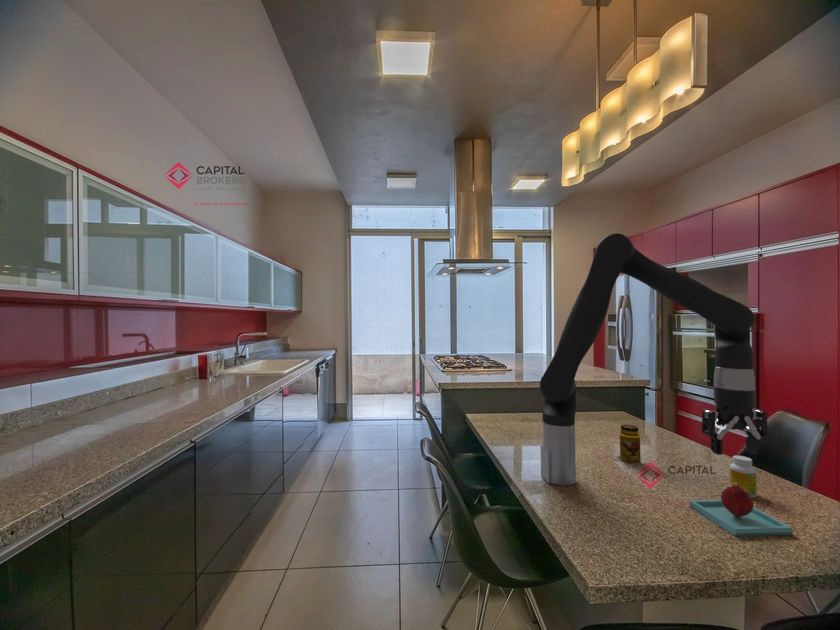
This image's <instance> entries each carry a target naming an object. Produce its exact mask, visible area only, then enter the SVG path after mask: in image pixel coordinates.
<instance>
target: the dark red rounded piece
mask: <svg viewBox="0 0 840 630" xmlns="http://www.w3.org/2000/svg"><path fill="white" fill-rule="evenodd" d="M720 500H722V504H723V505H724V507H725V508H726V509H727V510H728V511H729V512H730V513H731V514H733V515H734V516H735V517H741V516H745V515H748V514H749V513H750V512H751V511H752V509H753V507H754V502H753V499H752V497H750V496H749V495H748V493H747V492H746V491H744V490H743V489H742V488H740V487H739V484H738V483H736V482H735V483H734V484H733V486H731V485H730V486H729V487H726V488H724V490H722V491H721V494H720Z"/></svg>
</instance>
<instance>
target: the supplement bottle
mask: <svg viewBox="0 0 840 630" xmlns="http://www.w3.org/2000/svg"><path fill="white" fill-rule="evenodd" d="M732 462H733V463H731V464H730V465H729V476H730V477H729V479H730V481H729V482H730V485H729V486H730V487H731V486H733V484H734V483H735V482H736V483H738V484H739V487H740V488H742V489H743V490H744V491H746V492H747V493H748V495H749V496H750V497H751V498H756V497H757V494H758V493H757V492H758V491H757V470H756V468H755V467H753V459H752V458H750V457H747V456H744V455H733V456H732Z"/></svg>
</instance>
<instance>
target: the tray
mask: <svg viewBox="0 0 840 630" xmlns="http://www.w3.org/2000/svg"><path fill="white" fill-rule="evenodd" d="M688 501H689V504H688V505H689V507H690V508H691V509H692V508H693V509H692V510H694V511H695V512H697V513H699V514H700V515H701V516H703V517H705V518H706V519H708V520H709V521H711V522H712V523H714V524H715V525H717V526H719V527H720V528H721V529H723V530H725V531H726V532H728V533H729V534H731V535H732V536H734V537H760V536H761V537H765V536H771V537H772V536H793V527H792V526H790V525H788V524H786V523H784V522H783V521H780V520H778V519H777V518H775V517H772V516H770V515H769V514H768V513H766V512H763V511H762V510H760V509H757V508H756V507H754V506H753V509H752V511H751V512H750V513H749V514H748V515H745V516H741V517H735V516H734V515H733V514H731V513H730V512H729V511H728V510H727V509H726V508H725V507H724V505H723V504H722V500H721V499H696V500H695V499H692V500H688Z"/></svg>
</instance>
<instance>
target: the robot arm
mask: <svg viewBox="0 0 840 630" xmlns="http://www.w3.org/2000/svg"><path fill="white" fill-rule="evenodd" d="M620 274H624V275H626V276H629V277H630V278H633V279H635V280H637V281H639V282H641V283H643V284H645V285H646V286H648V287H650V288H651V289H653V290H654V291H655V292H657V293H659V294H661V295H662V296H663V297H665V298H667V299H668V300H669V301H672V302H674V303H675V304H677V305H678V306H680V307H682V308H684V309H685V310H688V312H692V313H695V314H697V315H699V316H701V318H703V319H705V320H707V321H708V322H710V323H712V324H713V329H714V340H715V350H714V352H715V353H714V371H713V372H714V373H713V402H714V404H715V405H716V409H715V410H710V409H705V408H704V409H703V410H702V415H701V416H702V417H701V433H702V434H703V435H706V436H709V438H710V439H709V440H710V450H711V451H712V453H714V454H715V455H717V456H722V455H723V454H724V453H723V452H724V451H723V448H724V447H723V445H724V444H723V437H724V436H725V435H726V434H727V433H729V432H730V431H731V430H733V431H734V430H741V431H743V432H744V433H745V435H746V437H745V451H746V453H747V454H749V455H752V456H757V455H758V454H759V453H758V452H759V450H760V448H759V446H760V445H759V443H760V441H759V440H761V438H762V437H764V438H767V437H768V436H769V429H768V416H767V412H766V411H763V410H760V409H756V377H755V372H754V351H753V347H752V346H751V327H753V326H754V323H755V319H756V317H755V314H754V312H753V311H752V309H750V308H749V307H748V306H746V305H745V304H743V303H742V302H739V301H737V300H735V299H733V298H730V297H728V296H726V295H724V294H721V293H719V292H717V291H715V290H713V289H711V288H710V287H709V286H706V285H705V284H703V283H701V282H700V281H697V280H695V279H694V278H692V277H690V276H688V275H686V274H684V273H682V272H679V271H677V270H674V269H671V268H670V267H667V266H665V265H662V264H660V263H658V262H656V261H654V260H652V259H651V258H649V257H647V256H646V255H644V254H643V253H642V252H640V251H639V250H638V249H636V248H635V247H634V244H633V242H632V240H631V239H630V238H629V237H628V236H626V235H624V234H623V233H619V232H617V233H615V232H614V233H611V234H608V235H606V236H605V237H603V238H602V239H601V240H600V241H599V242H598V244H597V245H596V248H595V251H594V254H593V257H592V261H591V265H590V267H589V271H588V274H587V278H586V279H585V282H584V283H583V285H582V287H581V289H580V291H579V293H578V295H577V297H576V299H575V301H574V304H573V306H572V308H571V310H570V312H569V315H568V317H567V320H566V322H565V325H564V328H563V329H562V333H561V335H560V339H559V341H558V345H557V348H556V350H555V353H554V355H553V357H552V359H551V360H550V363H549V365H547V368H546V370H545V371H544V373H543V374H542V376H541V378H540V381H539V389H540V393H541V394H542V397H543V398H544V405H543V410H542V419H541V421H542V444H540V476H541V477H542V479H544V481H545V482H546V483H547V484H550V485H551V484H552V485H557V486H565V487H566V486H567V487H568V486H573V485H575V483H576V482H577V473H576V472H577V471H576V468H577V467H576V466H577V465H576V426H575V424H576V420H575V419H576V412H577V387H576V380H575V378H576V374H577V372H578V370H579V367H580V364H581V363H582V361H583V359H584V358H585V356H586V354H587V353H588V352H589V350H590V349H591V347H592V346H593V344H594V342H595V341H596V339H597V338H598V335H599V333H600V330H601V328H602V326H603V324H604V321H605V319H606V316H607V315H608V314H607V313H608V310H609V306H610V301H611V297H612V293H613V292H612V291H613V288H615V287H614V286H615V284H616V282H617V279H618V278H619V276H620Z"/></svg>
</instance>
